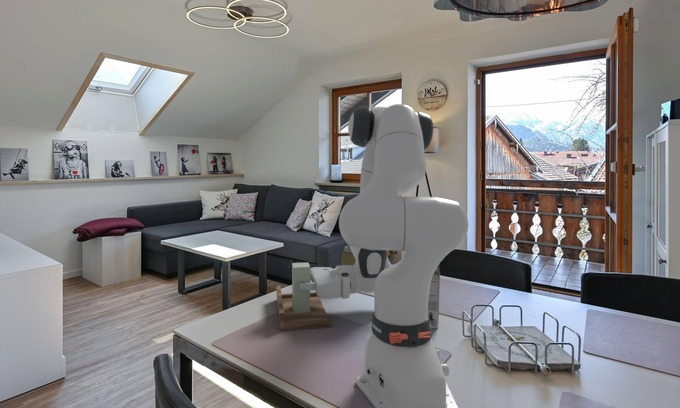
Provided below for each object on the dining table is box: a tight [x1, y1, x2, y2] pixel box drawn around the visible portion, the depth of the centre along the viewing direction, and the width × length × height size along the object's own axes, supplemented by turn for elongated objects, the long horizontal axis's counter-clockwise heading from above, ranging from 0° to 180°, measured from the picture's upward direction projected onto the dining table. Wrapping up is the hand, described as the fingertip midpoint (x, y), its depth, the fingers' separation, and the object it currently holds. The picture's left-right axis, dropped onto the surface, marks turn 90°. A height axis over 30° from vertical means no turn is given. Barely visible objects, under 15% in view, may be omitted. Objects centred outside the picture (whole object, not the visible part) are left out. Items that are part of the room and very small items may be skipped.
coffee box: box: [428, 264, 441, 329], centre depth 115 cm, size 9×6×16 cm
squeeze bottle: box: [340, 244, 356, 266], centre depth 149 cm, size 8×8×18 cm
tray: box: [276, 284, 331, 332], centre depth 123 cm, size 25×14×5 cm, turn 11°
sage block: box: [291, 262, 311, 313], centre depth 122 cm, size 5×5×14 cm
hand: (298, 282), depth 122 cm, fingers open, 6 cm apart
